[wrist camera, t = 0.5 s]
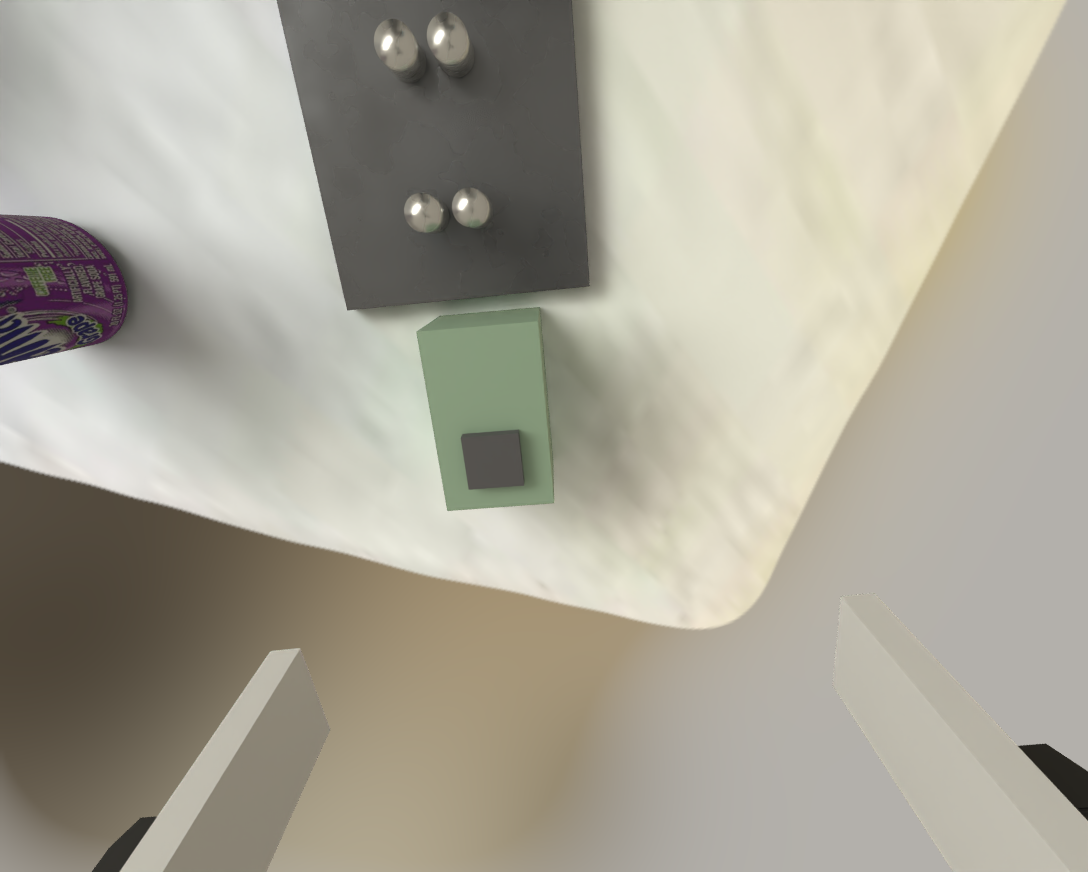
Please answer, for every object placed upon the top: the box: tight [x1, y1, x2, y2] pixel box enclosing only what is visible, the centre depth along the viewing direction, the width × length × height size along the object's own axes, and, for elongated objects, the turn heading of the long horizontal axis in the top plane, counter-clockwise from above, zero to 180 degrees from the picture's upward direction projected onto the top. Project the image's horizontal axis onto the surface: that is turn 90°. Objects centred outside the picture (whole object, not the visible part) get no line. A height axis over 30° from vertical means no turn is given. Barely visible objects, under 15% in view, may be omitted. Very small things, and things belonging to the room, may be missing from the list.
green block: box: [417, 307, 554, 511], centre depth 29 cm, size 10×6×7 cm, turn 5°
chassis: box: [277, 0, 590, 310], centre depth 26 cm, size 16×14×4 cm
